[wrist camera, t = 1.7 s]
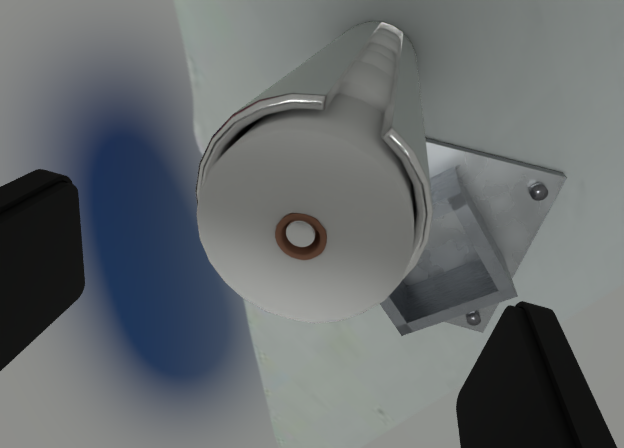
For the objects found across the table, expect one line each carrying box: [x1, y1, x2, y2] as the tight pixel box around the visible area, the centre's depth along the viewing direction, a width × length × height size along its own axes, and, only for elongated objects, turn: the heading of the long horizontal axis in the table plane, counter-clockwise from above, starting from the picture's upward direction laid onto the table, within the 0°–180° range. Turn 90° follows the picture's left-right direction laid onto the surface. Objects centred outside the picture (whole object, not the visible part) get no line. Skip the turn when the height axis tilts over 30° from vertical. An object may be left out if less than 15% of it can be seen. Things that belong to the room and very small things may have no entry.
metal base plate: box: [380, 138, 567, 336], centre depth 35 cm, size 16×16×6 cm
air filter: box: [196, 21, 434, 324], centre depth 22 cm, size 6×6×25 cm
